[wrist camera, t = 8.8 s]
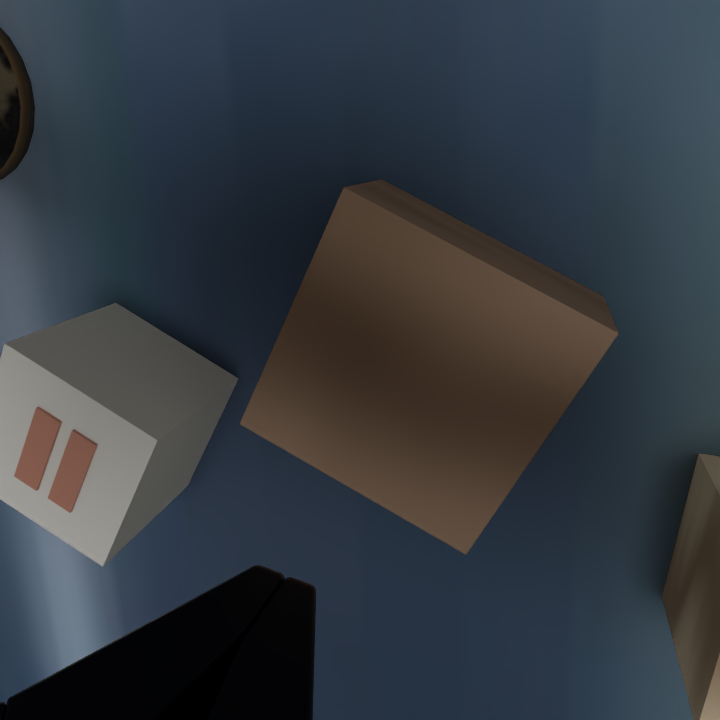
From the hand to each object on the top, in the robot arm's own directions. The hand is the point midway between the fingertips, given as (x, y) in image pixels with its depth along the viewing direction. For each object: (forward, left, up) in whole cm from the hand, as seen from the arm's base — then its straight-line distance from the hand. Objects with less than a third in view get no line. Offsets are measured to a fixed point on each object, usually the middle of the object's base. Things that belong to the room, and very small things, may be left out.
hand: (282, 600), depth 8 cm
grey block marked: (-5, +9, -12) cm, 16 cm away
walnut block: (0, 0, -12) cm, 12 cm away
